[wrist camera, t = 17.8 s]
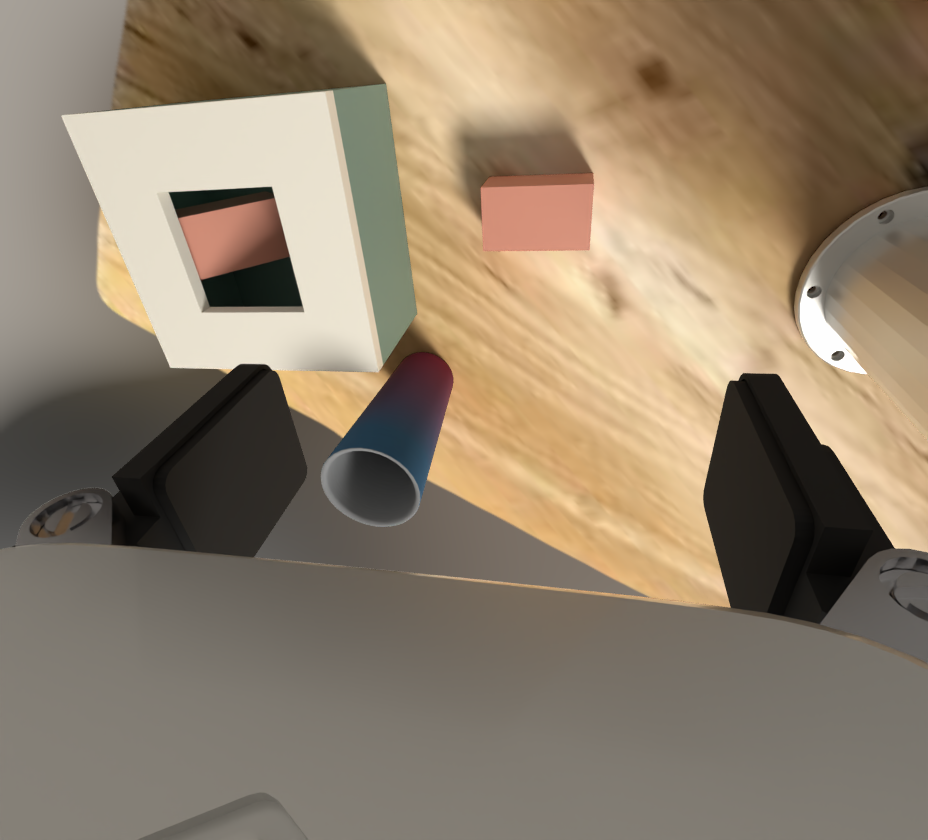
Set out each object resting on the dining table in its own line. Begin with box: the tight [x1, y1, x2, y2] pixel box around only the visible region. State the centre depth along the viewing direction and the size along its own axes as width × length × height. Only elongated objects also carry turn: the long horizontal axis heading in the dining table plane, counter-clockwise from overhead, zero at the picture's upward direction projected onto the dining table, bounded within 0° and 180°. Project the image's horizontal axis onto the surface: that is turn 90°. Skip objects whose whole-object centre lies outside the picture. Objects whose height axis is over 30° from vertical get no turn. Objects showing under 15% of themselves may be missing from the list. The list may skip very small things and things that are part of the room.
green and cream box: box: [62, 84, 417, 372], centre depth 37 cm, size 16×16×10 cm
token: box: [481, 173, 594, 251], centre depth 36 cm, size 7×4×4 cm, turn 94°
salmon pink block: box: [175, 191, 290, 280], centre depth 38 cm, size 4×4×7 cm
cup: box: [321, 352, 453, 527], centre depth 41 cm, size 7×7×15 cm
